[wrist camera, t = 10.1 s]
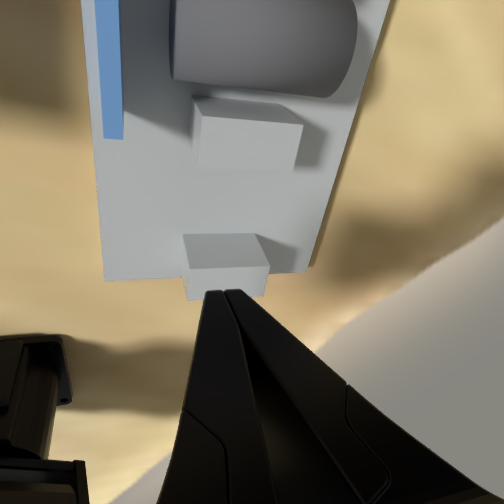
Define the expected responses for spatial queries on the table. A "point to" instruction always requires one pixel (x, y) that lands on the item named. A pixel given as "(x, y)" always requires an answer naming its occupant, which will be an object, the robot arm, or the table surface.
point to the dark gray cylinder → (263, 44)
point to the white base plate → (208, 157)
